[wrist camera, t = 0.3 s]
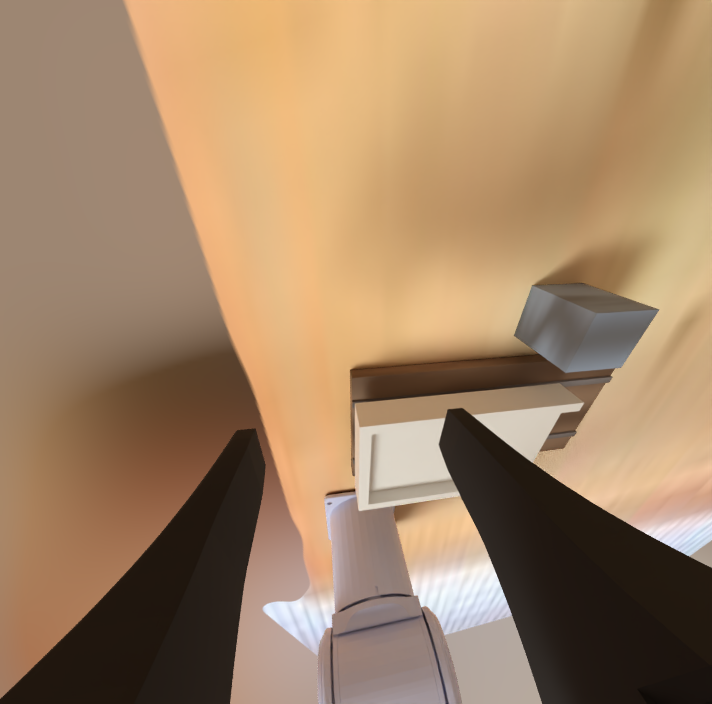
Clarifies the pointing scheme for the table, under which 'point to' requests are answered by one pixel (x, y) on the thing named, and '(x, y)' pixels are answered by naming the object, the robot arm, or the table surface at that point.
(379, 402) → the shallow rimmed tray
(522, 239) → the table surface
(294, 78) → the table surface
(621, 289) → the table surface
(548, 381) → the track board
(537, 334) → the block
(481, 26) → the table surface
